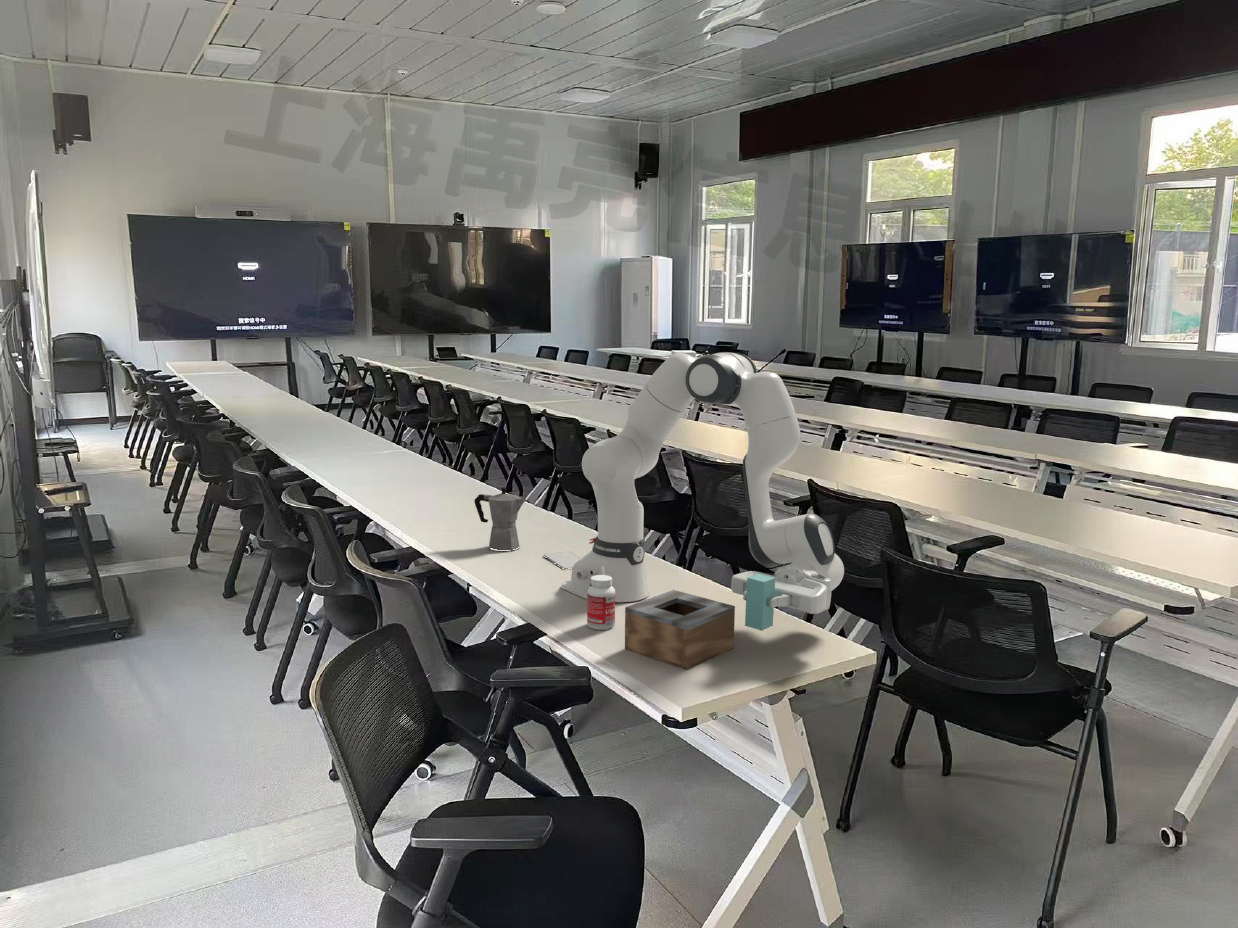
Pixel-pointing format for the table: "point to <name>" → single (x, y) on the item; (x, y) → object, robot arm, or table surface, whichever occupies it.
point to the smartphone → (563, 559)
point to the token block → (759, 601)
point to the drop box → (679, 628)
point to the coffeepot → (502, 518)
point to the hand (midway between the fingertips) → (757, 600)
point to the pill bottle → (601, 603)
